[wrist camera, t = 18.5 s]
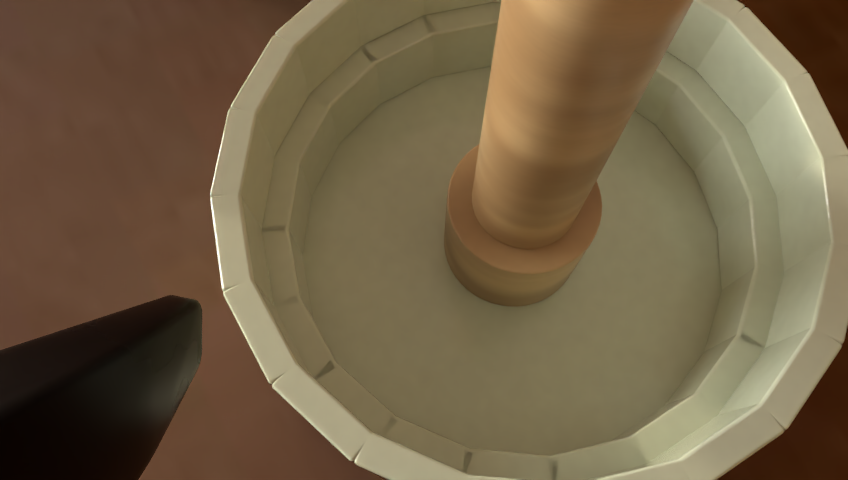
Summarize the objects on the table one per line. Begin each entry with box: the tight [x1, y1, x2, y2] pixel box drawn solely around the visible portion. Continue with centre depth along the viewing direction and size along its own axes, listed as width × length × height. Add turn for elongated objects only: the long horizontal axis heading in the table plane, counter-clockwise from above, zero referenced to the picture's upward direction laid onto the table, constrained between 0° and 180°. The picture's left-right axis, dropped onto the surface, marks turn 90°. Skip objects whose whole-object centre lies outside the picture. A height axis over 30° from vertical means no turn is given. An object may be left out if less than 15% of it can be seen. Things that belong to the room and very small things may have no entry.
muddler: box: [444, 0, 694, 307], centre depth 14 cm, size 4×4×12 cm
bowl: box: [210, 0, 848, 480], centre depth 18 cm, size 14×14×5 cm
